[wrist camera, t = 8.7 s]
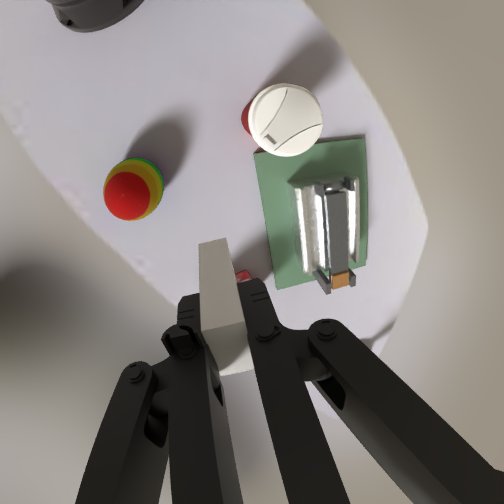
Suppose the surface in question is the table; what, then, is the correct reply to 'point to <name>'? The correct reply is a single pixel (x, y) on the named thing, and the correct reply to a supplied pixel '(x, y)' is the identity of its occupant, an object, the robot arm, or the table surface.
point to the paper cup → (284, 119)
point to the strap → (337, 233)
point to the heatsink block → (321, 219)
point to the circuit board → (277, 201)
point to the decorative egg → (133, 189)
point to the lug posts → (326, 283)
